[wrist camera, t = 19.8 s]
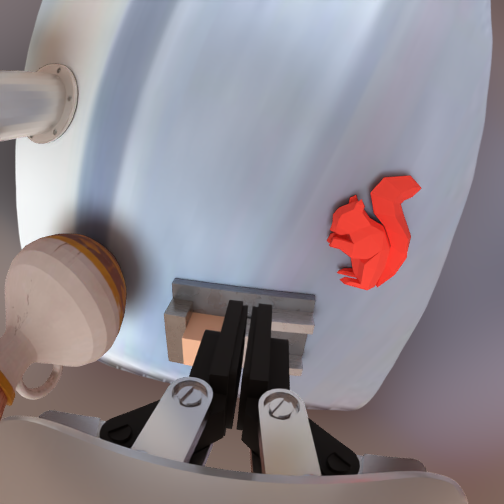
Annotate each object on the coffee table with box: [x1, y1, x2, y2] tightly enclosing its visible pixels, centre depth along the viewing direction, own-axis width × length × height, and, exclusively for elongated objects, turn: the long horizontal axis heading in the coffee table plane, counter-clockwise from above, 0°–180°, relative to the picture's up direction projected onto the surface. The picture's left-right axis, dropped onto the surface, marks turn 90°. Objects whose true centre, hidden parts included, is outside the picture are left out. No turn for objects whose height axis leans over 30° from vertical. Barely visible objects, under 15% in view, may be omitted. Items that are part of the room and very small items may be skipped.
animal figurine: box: [327, 176, 421, 290], centre depth 35 cm, size 12×15×5 cm
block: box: [182, 312, 224, 366], centre depth 41 cm, size 5×5×6 cm
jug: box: [0, 234, 126, 420], centre depth 30 cm, size 20×18×30 cm
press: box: [164, 278, 315, 376], centre depth 42 cm, size 20×14×6 cm
